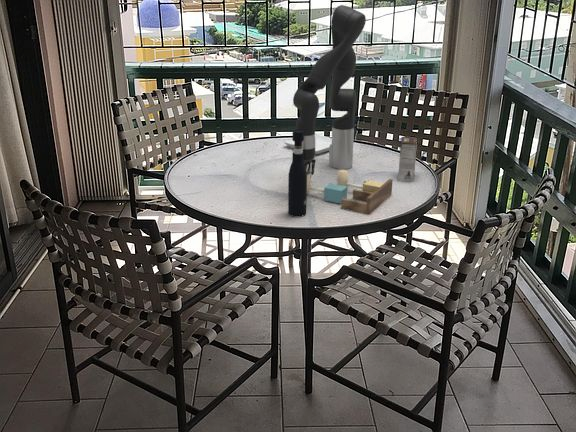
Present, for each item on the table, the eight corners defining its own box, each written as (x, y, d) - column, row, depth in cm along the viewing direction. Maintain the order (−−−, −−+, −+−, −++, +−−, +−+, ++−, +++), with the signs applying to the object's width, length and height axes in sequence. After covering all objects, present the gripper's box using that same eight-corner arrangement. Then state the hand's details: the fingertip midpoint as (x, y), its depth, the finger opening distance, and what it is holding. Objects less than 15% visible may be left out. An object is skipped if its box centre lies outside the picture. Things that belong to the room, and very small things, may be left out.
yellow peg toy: (334, 191, 240) (335, 172, 237) (340, 187, 244) (340, 168, 241) (379, 199, 232) (381, 180, 229) (384, 195, 236) (386, 176, 233)
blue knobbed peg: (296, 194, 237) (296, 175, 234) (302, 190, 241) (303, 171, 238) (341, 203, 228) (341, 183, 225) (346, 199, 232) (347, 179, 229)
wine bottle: (287, 210, 223) (287, 128, 212) (305, 209, 224) (306, 128, 212) (289, 217, 218) (289, 133, 206) (307, 216, 218) (308, 133, 206)
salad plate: (313, 139, 307) (313, 132, 305) (346, 148, 293) (347, 141, 291) (282, 148, 293) (282, 141, 292) (315, 158, 279) (315, 151, 278)
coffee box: (398, 173, 260) (401, 136, 254) (414, 174, 259) (417, 137, 253) (397, 180, 252) (400, 142, 246) (413, 181, 251) (417, 143, 245)
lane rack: (340, 208, 225) (341, 192, 223) (364, 189, 243) (365, 174, 241) (369, 214, 220) (370, 198, 218) (391, 194, 238) (392, 179, 236)
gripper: (305, 139, 238) (304, 181, 244) (286, 148, 226) (286, 192, 233) (322, 142, 234) (321, 184, 241) (305, 151, 223) (304, 196, 230)
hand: (304, 188), depth 237 cm, fingers closed on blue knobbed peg, 4 cm apart
